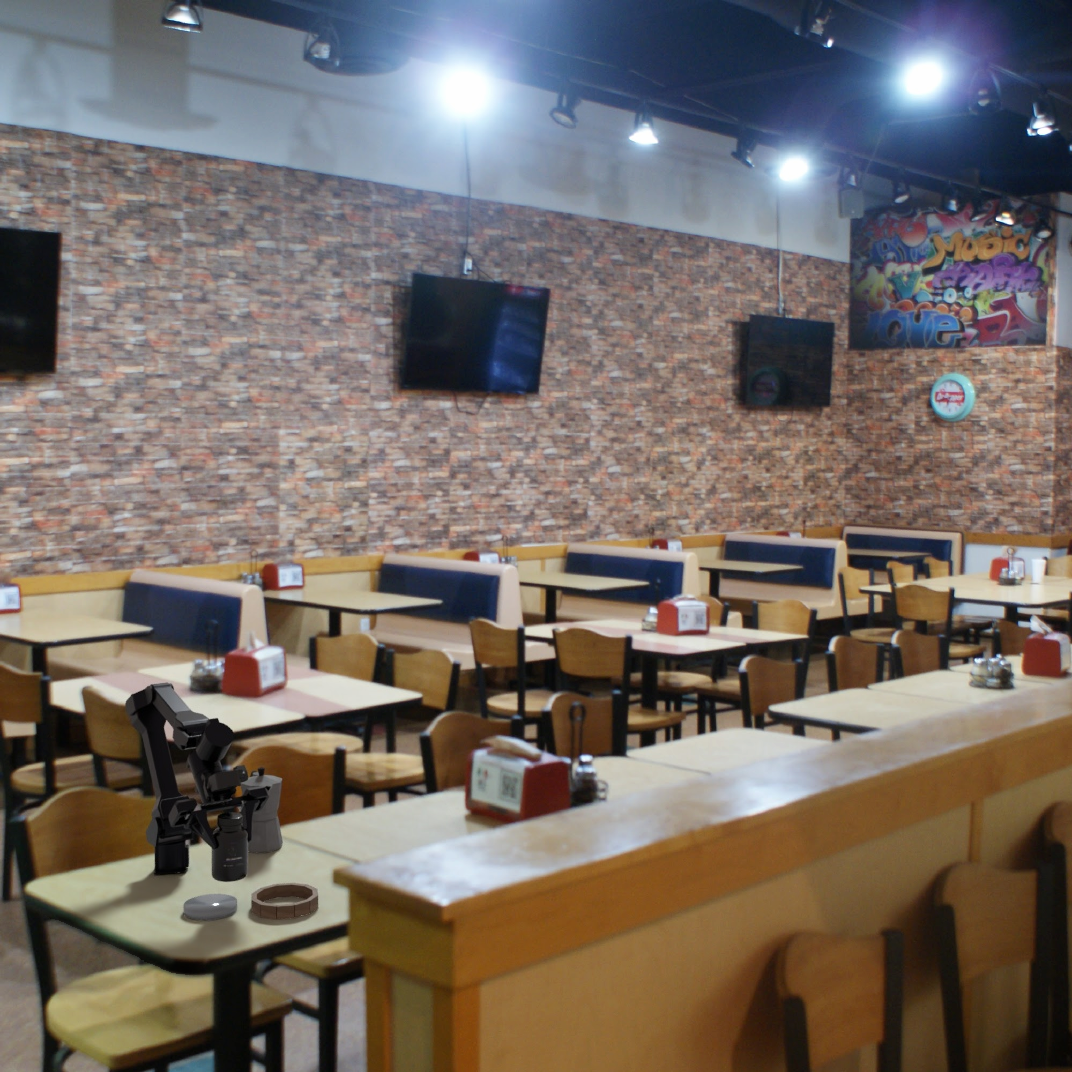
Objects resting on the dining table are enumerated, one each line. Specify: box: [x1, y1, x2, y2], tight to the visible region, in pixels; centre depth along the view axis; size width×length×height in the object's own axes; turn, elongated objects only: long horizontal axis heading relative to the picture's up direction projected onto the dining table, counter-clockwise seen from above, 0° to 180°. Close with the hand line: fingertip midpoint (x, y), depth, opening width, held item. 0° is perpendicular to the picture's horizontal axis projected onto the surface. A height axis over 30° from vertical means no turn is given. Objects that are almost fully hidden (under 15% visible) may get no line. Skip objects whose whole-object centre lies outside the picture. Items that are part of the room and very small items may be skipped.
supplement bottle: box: [211, 811, 249, 883], centre depth 239 cm, size 7×7×12 cm
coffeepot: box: [240, 766, 284, 854], centre depth 279 cm, size 15×9×18 cm, turn 25°
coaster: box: [182, 893, 238, 921], centre depth 240 cm, size 10×10×2 cm
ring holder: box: [250, 882, 319, 920], centre depth 242 cm, size 13×13×2 cm
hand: (232, 844), depth 238 cm, fingers closed on supplement bottle, 7 cm apart
